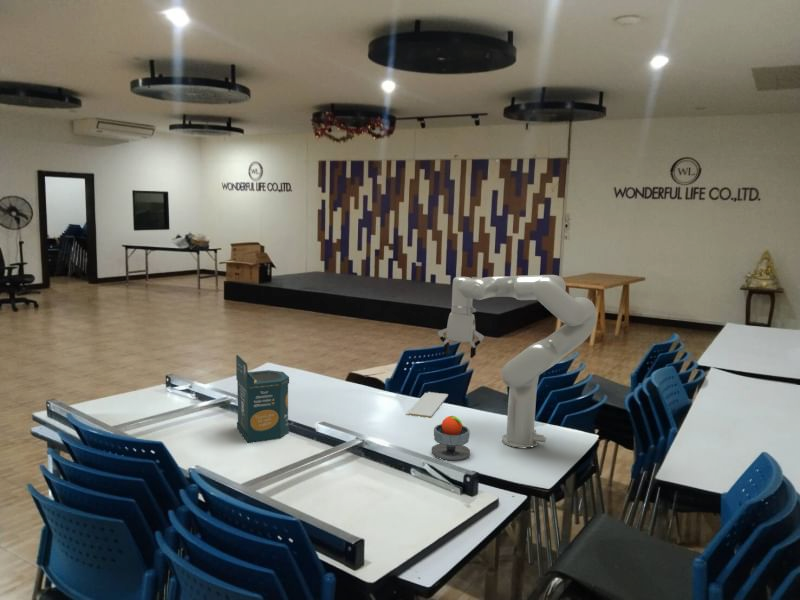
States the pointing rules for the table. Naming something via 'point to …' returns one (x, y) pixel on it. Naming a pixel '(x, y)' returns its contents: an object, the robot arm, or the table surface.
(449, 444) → the stand
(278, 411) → the donation box
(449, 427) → the clementine
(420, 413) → the baseboard molding
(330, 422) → the table surface
